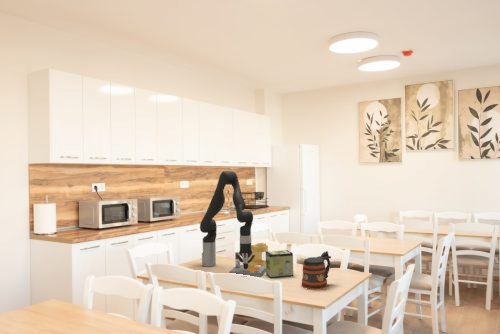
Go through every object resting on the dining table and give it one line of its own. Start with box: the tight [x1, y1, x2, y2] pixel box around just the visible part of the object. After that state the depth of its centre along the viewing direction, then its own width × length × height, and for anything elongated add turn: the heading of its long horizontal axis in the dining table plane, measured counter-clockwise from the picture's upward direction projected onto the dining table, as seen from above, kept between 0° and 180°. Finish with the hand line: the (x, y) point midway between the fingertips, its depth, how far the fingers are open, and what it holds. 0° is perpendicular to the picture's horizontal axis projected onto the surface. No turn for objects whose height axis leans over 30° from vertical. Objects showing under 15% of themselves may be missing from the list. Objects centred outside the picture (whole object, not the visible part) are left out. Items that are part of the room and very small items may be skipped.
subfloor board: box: [228, 264, 266, 278], centre depth 280 cm, size 21×19×3 cm
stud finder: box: [248, 265, 259, 272], centre depth 273 cm, size 6×4×3 cm, turn 75°
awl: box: [234, 251, 241, 268], centre depth 284 cm, size 3×3×10 cm
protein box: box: [265, 249, 294, 279], centre depth 271 cm, size 10×16×16 cm
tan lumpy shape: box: [248, 242, 269, 266], centre depth 303 cm, size 20×9×16 cm, turn 41°
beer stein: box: [301, 251, 332, 290], centre depth 244 cm, size 19×15×20 cm
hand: (245, 268), depth 274 cm, fingers closed
